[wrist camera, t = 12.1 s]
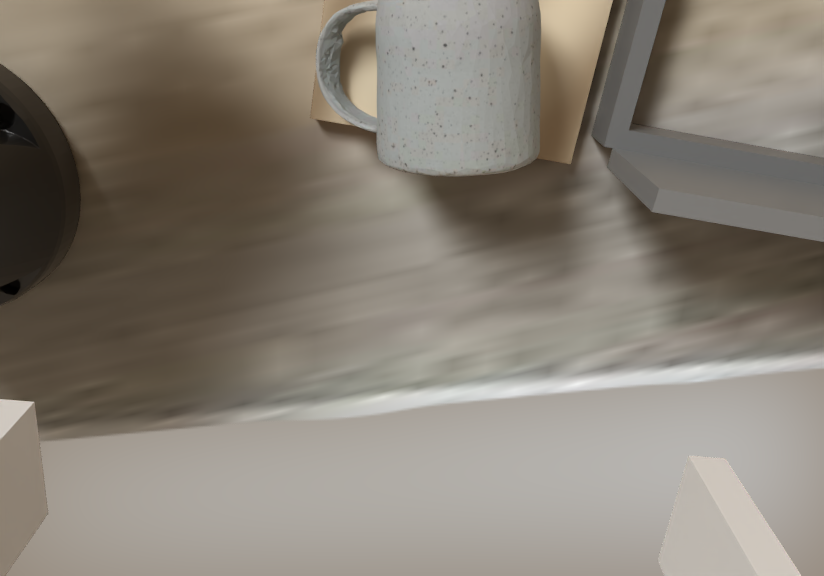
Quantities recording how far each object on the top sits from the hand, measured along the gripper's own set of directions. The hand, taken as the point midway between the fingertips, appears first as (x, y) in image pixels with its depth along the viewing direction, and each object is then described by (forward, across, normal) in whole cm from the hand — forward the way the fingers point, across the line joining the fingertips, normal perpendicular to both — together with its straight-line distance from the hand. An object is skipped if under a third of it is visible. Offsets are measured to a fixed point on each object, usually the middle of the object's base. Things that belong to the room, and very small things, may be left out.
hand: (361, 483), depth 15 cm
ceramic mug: (+27, +3, +9) cm, 28 cm away
